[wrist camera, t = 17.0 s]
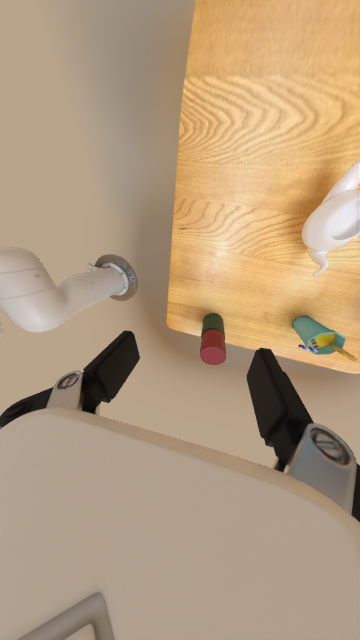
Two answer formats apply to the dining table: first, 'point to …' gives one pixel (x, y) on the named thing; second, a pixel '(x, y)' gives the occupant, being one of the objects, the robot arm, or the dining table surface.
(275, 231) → the dining table surface
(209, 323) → the green bottle
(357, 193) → the teapot
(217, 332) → the grooved red cylinder
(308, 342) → the cup
